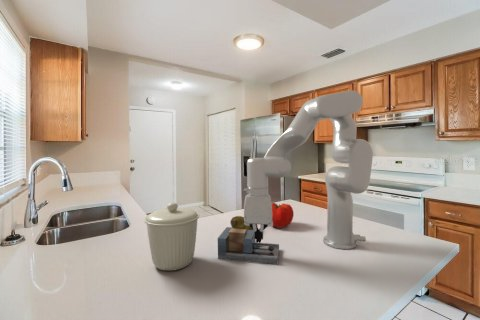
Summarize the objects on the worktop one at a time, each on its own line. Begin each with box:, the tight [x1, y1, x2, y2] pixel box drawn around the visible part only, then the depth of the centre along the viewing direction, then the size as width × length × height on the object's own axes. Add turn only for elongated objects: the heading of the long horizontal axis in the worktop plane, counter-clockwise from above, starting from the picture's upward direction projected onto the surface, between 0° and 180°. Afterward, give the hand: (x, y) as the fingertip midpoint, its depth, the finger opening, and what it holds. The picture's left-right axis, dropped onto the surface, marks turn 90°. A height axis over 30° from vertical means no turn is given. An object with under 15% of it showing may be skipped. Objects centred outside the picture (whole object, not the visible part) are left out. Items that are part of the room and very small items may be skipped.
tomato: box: [271, 202, 294, 229], centre depth 117 cm, size 13×14×12 cm
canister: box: [143, 202, 200, 272], centre depth 79 cm, size 18×18×21 cm
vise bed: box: [217, 226, 280, 265], centre depth 86 cm, size 21×12×8 cm, turn 78°
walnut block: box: [229, 228, 247, 252], centre depth 87 cm, size 6×4×7 cm, turn 77°
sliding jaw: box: [243, 230, 274, 254], centre depth 85 cm, size 10×9×6 cm
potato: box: [230, 215, 253, 231], centre depth 108 cm, size 8×13×8 cm, turn 93°
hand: (258, 241), depth 85 cm, fingers closed
